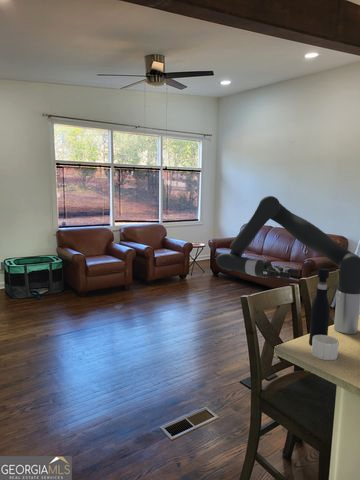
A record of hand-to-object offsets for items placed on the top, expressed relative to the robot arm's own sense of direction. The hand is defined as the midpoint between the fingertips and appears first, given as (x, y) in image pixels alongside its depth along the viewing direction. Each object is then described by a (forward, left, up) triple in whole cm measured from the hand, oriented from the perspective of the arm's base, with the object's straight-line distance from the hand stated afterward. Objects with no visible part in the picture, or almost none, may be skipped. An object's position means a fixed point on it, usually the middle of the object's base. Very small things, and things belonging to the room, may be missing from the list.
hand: (294, 274), depth 138 cm
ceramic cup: (+7, +16, -26) cm, 31 cm away
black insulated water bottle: (0, +11, -26) cm, 28 cm away
